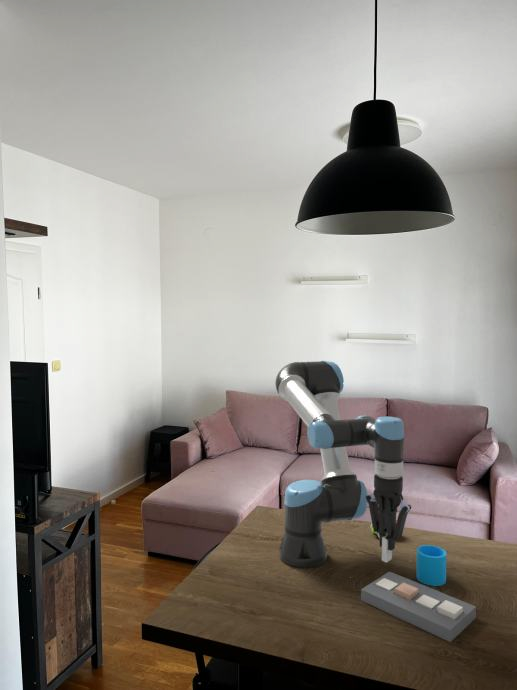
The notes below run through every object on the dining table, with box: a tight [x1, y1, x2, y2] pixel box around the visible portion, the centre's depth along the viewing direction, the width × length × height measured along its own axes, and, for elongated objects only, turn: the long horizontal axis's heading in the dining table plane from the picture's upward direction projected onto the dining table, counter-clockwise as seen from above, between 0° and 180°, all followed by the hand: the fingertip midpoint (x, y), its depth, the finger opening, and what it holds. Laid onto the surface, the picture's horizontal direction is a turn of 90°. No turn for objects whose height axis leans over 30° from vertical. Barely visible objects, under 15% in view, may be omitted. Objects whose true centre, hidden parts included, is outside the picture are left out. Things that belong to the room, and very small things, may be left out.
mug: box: [416, 544, 447, 587], centre depth 153 cm, size 12×8×8 cm
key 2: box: [395, 583, 418, 600], centre depth 138 cm, size 4×4×3 cm
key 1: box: [375, 578, 398, 592], centre depth 142 cm, size 4×4×3 cm
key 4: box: [437, 600, 463, 620], centre depth 129 cm, size 4×4×3 cm
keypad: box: [360, 571, 477, 643], centre depth 136 cm, size 25×14×3 cm, turn 44°
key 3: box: [415, 595, 440, 610], centre depth 134 cm, size 4×4×3 cm
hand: (386, 559), depth 142 cm, fingers closed
